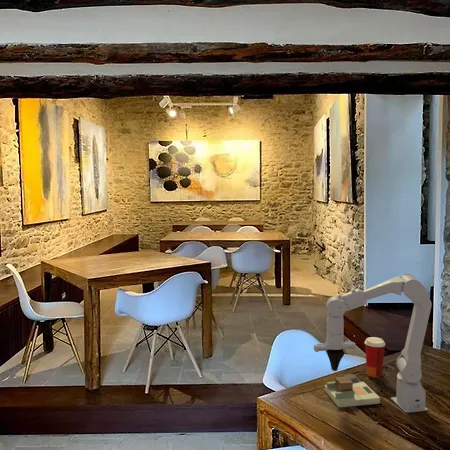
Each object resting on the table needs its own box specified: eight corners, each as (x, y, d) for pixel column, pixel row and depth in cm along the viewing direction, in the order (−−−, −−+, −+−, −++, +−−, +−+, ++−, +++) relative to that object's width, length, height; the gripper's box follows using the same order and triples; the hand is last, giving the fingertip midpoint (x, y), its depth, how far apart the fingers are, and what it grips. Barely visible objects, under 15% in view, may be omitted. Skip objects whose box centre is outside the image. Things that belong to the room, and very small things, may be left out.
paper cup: (381, 370, 175) (382, 336, 173) (386, 379, 167) (387, 344, 166) (361, 370, 176) (362, 336, 174) (365, 378, 168) (366, 343, 167)
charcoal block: (357, 386, 162) (357, 377, 162) (349, 388, 161) (349, 379, 160) (350, 382, 165) (350, 373, 165) (343, 384, 164) (343, 375, 163)
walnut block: (352, 394, 152) (352, 382, 151) (340, 395, 151) (340, 383, 150) (346, 388, 156) (347, 376, 155) (335, 389, 155) (335, 377, 155)
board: (380, 403, 149) (380, 392, 149) (338, 407, 147) (338, 396, 147) (363, 387, 161) (363, 376, 161) (324, 390, 159) (324, 380, 158)
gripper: (349, 326, 156) (348, 363, 157) (310, 329, 153) (310, 366, 155) (358, 333, 149) (357, 371, 150) (318, 336, 146) (317, 375, 148)
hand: (334, 369), depth 152 cm, fingers closed
